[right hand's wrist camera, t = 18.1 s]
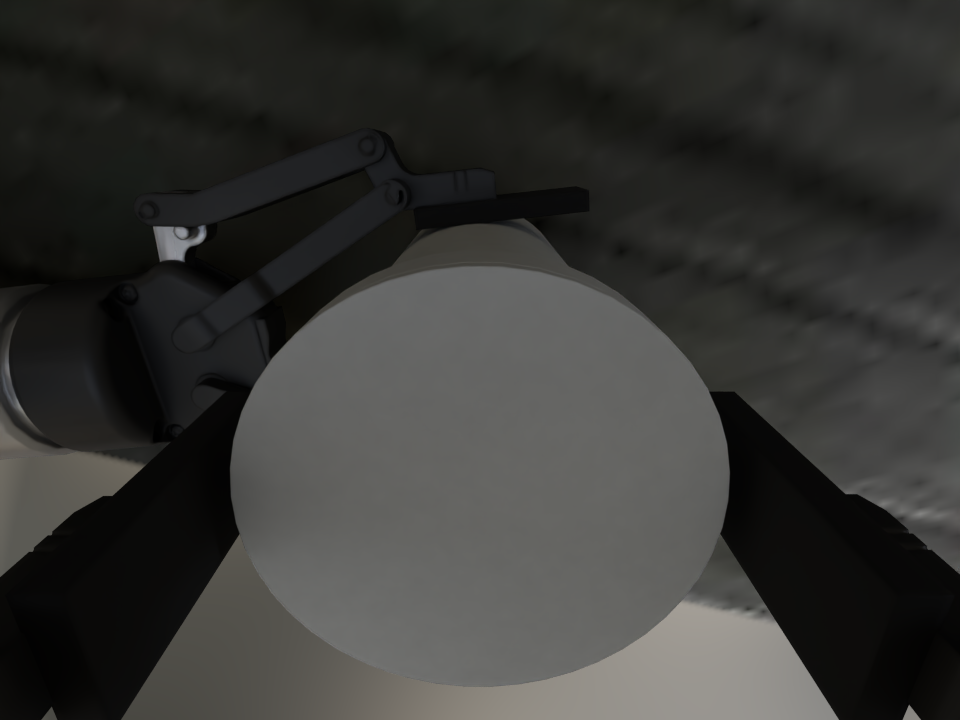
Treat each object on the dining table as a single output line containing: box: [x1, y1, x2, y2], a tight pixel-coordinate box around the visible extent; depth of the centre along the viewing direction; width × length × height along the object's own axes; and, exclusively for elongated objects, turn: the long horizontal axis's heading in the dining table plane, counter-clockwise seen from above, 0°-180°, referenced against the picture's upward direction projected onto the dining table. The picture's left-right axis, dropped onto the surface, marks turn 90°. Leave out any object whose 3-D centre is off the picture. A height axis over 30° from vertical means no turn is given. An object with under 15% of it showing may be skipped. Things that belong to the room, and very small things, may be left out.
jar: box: [391, 218, 568, 267], centre depth 20 cm, size 9×9×19 cm
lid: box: [230, 250, 730, 687], centre depth 12 cm, size 10×10×2 cm
